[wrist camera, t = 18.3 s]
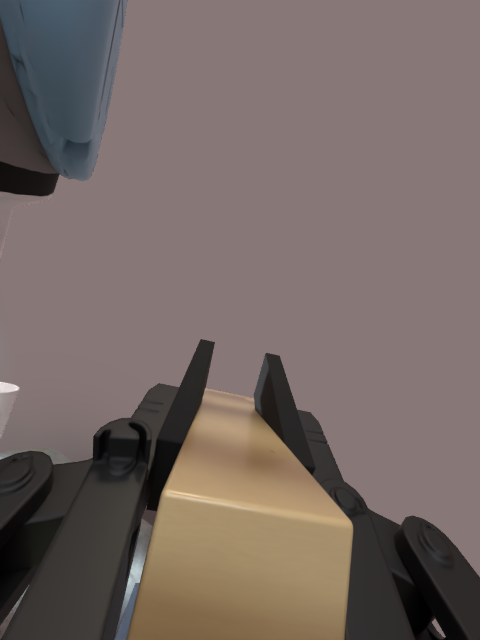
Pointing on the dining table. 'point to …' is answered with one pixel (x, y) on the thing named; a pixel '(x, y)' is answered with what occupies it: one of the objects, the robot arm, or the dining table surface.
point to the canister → (6, 402)
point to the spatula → (242, 539)
